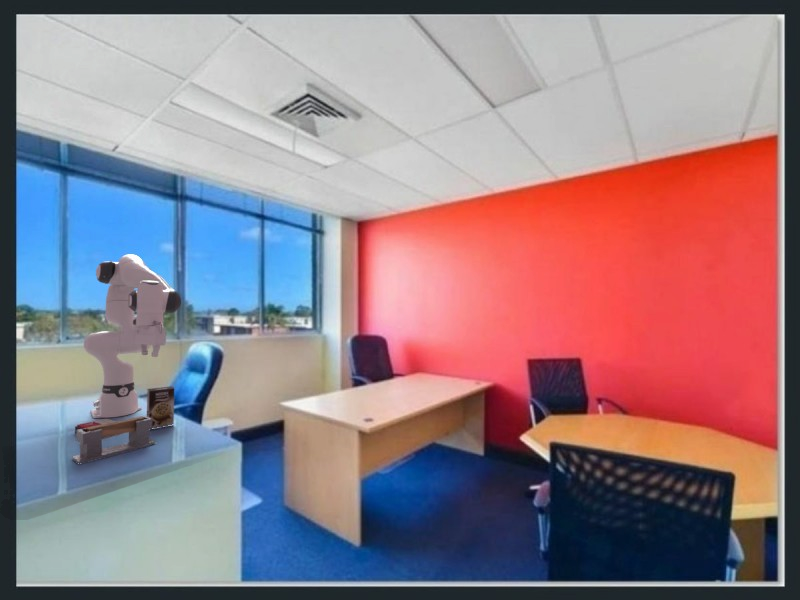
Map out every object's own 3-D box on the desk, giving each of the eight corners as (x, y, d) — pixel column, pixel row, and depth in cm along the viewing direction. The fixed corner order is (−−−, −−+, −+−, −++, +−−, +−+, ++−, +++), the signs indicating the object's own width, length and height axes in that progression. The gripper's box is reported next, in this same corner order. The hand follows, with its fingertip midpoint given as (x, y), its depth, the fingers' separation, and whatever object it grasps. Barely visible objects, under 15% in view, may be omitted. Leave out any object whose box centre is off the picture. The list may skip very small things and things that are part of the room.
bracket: (72, 459, 124) (72, 430, 124) (147, 440, 142) (147, 414, 142) (78, 464, 120) (79, 434, 120) (155, 444, 138) (155, 418, 138)
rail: (85, 439, 125) (86, 427, 125) (140, 427, 138) (140, 416, 138) (88, 441, 124) (89, 429, 124) (143, 428, 137) (144, 417, 137)
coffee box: (148, 430, 152) (149, 391, 153) (146, 427, 157) (146, 388, 157) (174, 426, 158) (174, 388, 159) (171, 422, 163) (171, 385, 164)
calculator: (107, 417, 159) (122, 421, 151) (107, 427, 159) (122, 432, 151) (74, 424, 150) (89, 429, 142) (74, 435, 150) (89, 440, 142)
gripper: (170, 321, 145) (170, 357, 145) (148, 320, 157) (147, 353, 157) (152, 321, 140) (152, 358, 140) (130, 320, 152) (130, 354, 152)
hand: (149, 355), depth 149 cm, fingers open, 8 cm apart
